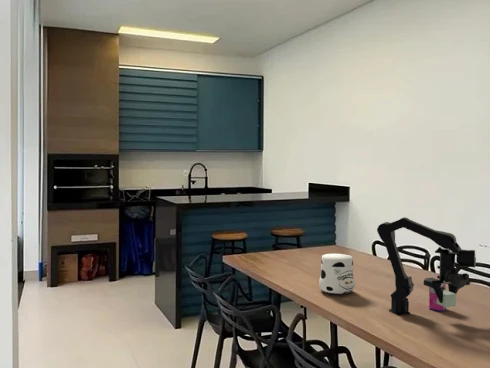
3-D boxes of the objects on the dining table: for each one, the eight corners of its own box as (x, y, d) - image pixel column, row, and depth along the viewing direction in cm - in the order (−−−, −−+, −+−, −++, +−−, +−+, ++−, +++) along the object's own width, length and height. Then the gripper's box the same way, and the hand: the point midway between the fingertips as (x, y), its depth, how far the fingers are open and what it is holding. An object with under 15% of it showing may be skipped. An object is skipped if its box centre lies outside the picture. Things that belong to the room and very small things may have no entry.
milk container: (352, 299, 218) (352, 261, 217) (315, 295, 224) (316, 258, 223) (356, 289, 234) (357, 254, 233) (322, 286, 240) (323, 252, 239)
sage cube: (445, 307, 186) (445, 294, 185) (436, 303, 190) (437, 291, 190) (455, 306, 187) (456, 293, 187) (446, 302, 192) (447, 290, 192)
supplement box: (432, 306, 208) (433, 281, 207) (446, 308, 204) (447, 283, 203) (428, 309, 203) (429, 283, 203) (442, 312, 199) (443, 286, 199)
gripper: (442, 270, 177) (441, 310, 178) (481, 267, 183) (480, 306, 184) (423, 264, 188) (422, 302, 189) (460, 261, 194) (459, 298, 194)
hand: (446, 302), depth 189 cm, fingers closed on sage cube, 5 cm apart
